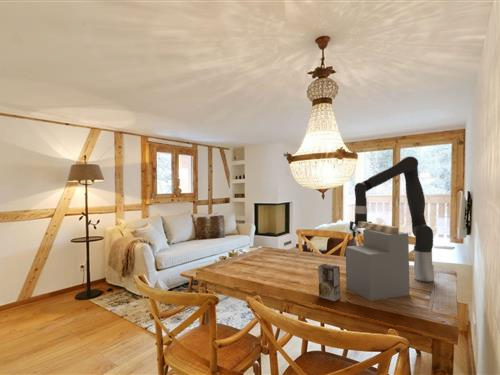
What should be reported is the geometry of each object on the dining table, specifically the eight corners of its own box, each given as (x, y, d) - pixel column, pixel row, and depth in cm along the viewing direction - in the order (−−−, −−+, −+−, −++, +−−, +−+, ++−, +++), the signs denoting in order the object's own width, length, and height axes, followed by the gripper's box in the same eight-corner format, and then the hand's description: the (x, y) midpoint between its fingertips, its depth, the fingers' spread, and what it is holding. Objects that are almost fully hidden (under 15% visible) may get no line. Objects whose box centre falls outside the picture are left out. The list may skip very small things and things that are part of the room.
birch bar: (358, 226, 171) (358, 221, 171) (363, 226, 172) (362, 221, 172) (393, 233, 144) (393, 227, 144) (398, 233, 145) (398, 226, 145)
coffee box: (340, 298, 142) (340, 266, 142) (334, 301, 138) (333, 269, 138) (324, 293, 149) (324, 263, 149) (318, 296, 144) (317, 265, 144)
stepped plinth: (346, 287, 157) (345, 230, 157) (381, 282, 163) (380, 228, 164) (370, 300, 138) (369, 236, 138) (409, 295, 144) (408, 233, 144)
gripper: (369, 212, 187) (369, 236, 187) (348, 212, 188) (348, 236, 187) (374, 213, 180) (374, 238, 180) (352, 213, 180) (352, 238, 180)
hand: (360, 237), depth 184 cm, fingers open, 8 cm apart
